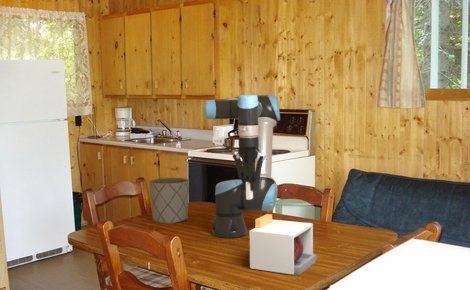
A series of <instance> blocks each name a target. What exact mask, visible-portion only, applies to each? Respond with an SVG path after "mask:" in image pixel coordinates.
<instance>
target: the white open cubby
mask: <svg viewBox="0 0 470 290" xmlns="http://www.w3.org/2000/svg"><path fill="white" fill-rule="evenodd" d="M313 232H314V224H313V223H311V222H301V221H300V222H299V221H293V220H283V219H282V220H281V219H273V214H271V213H266V214H264V215H262V216H260V217H258V218H256V219H255V228H252V229H251V230H250V229H249V268H250V269H253V270H260V271H265V272H266V271H268V272H272V273H279V274H280V273H281V274H287V275H292V276H293V275H294V238H295V237H296V236H298V237H299V238H300V239H301V241H302V243H303V247H304V249H303V253H308V254H314V233H313Z"/></svg>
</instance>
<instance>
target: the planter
mask: <svg viewBox="0 0 470 290" xmlns="http://www.w3.org/2000/svg"><path fill="white" fill-rule="evenodd" d="M189 182H190V180H189V179H188V178H183V177H164V178H163V177H161V178H154V179H151V180H150V181H149V182H148V183H149V194H150V204H151V215H152V216H151V217H152V221H153V222H154V223H159V224H165V225H167V224H175V223H181V222H183V221H186V220H188V217H189V216H188V215H189V193H190V191H189V190H190V189H189V188H190V183H189Z"/></svg>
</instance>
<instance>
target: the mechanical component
mask: <svg viewBox="0 0 470 290" xmlns="http://www.w3.org/2000/svg"><path fill="white" fill-rule="evenodd" d="M303 249H304V247H303V243H302V241H301V239H300V238H299V237H298V236H296V237H295V238H294V262H295V261H296V260H298V259H299V258H300V257H301V256H302V253H303Z"/></svg>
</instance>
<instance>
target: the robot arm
mask: <svg viewBox="0 0 470 290" xmlns="http://www.w3.org/2000/svg"><path fill="white" fill-rule="evenodd" d="M279 104H280V103H279V100H278V97H277V96H276V95H273V94H264V95H263V94H258V95H256V94H240V95H238V96H234V97H230V98H227V99H211V100H210V99H209V100H208V99H207V100H206V101H205V102H204V106H203V107H204V109H203V111H204V117H205V118H206V119H208V120H237V121H238V123H237V125H238V126H237V127H238V128H237V129H238V130H237V131H238V132H237V133H238V136H239V137H238V151H237V152H236V153H235V154H233V155H232V158H233V161H234V163H235V166H236V171H237V175H238V179H230V180H229V179H228V180H224V181H221V182H218V183H217V184H216V185H215V193H214V195H215V196H214V197H215V218H214V222H213V225H212V228H211V232H212V233H211V235H212V236H214V237H217V238H224V239H225V238H226V239H227V238H228V239H229V238H240V237H243V236H246V235H247V233H248V229H247V226H246V222H245V219H244V215H243V211H253V212H254V211H255V212H256V211H257V212H258V211H261V212H266V211H267V212H268V211H273V210H274V209H275V208H276V203H277V199H278V192H279V191H278V184H277V183H276V182H275V179H274V178H273V177H272V167H273V166H272V164H273V163H272V161H273V142H274V141H273V137H274V136H273V135H274V127H275V126H277V122H278V121H281V114H280V106H279ZM242 210H243V211H242Z"/></svg>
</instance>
